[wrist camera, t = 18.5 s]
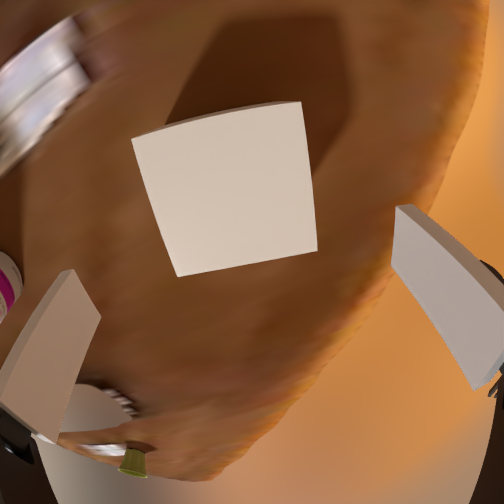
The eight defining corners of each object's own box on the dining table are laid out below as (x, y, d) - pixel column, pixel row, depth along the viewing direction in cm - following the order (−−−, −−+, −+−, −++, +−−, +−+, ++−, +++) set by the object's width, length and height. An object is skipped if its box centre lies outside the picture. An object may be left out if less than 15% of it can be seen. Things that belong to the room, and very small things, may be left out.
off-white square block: (164, 125, 22) (131, 139, 14) (277, 101, 22) (300, 101, 14) (191, 224, 27) (177, 276, 20) (293, 204, 27) (317, 250, 19)
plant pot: (145, 457, 68) (143, 478, 60) (119, 449, 65) (115, 471, 57) (153, 452, 64) (150, 476, 57) (124, 444, 61) (120, 467, 54)
